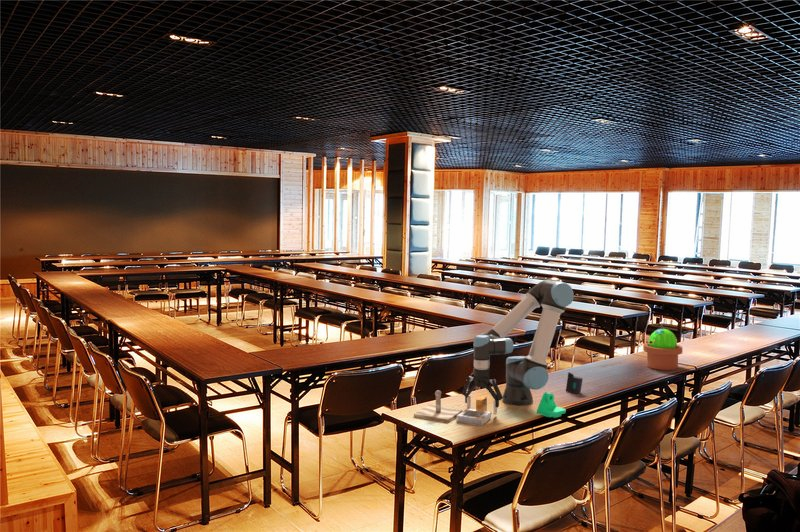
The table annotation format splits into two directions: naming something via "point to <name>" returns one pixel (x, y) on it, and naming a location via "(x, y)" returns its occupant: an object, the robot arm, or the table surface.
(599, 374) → the table surface
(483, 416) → the square frame with handle
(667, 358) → the potted cactus
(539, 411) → the camera mount
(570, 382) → the speaker
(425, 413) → the board
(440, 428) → the table surface
